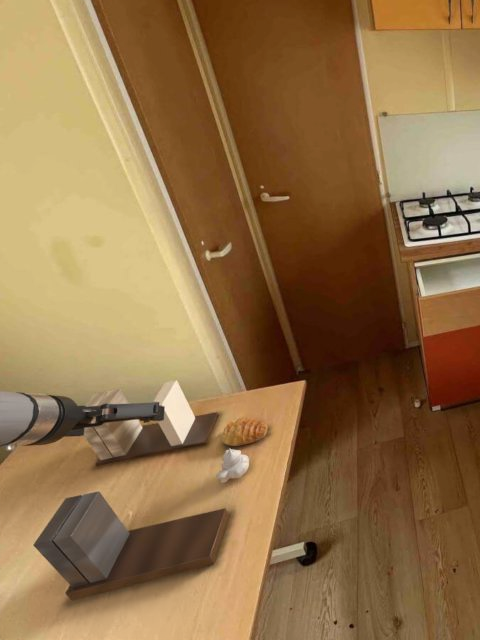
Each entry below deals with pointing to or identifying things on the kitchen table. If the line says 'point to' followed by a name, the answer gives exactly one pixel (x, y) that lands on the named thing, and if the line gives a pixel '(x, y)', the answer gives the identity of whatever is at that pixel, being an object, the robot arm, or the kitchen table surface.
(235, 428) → the pastry
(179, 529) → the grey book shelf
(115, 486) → the kitchen table surface
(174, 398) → the white book
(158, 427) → the wooden bookend
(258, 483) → the kitchen table surface
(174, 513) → the kitchen table surface
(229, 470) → the white garlic bulb
